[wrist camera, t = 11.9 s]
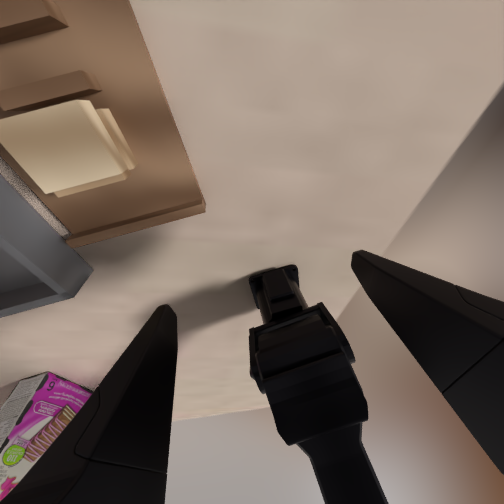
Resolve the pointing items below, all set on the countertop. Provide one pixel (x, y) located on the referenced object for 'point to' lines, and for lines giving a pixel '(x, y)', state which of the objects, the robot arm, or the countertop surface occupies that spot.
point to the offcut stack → (68, 147)
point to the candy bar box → (34, 422)
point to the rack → (101, 97)
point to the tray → (33, 258)
